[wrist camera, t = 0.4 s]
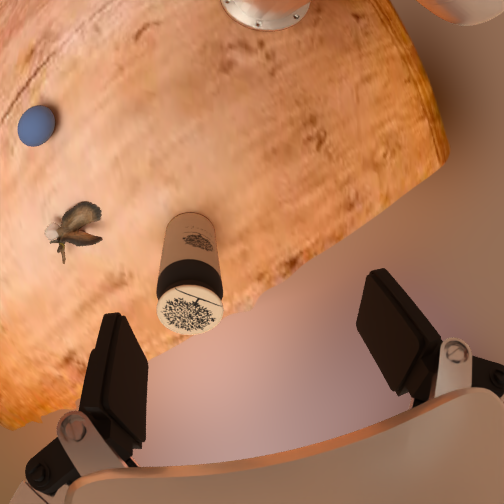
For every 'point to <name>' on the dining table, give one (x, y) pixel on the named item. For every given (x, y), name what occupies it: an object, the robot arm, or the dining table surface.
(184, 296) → the travel mug
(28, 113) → the ball
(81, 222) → the eagle figurine
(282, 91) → the dining table surface
